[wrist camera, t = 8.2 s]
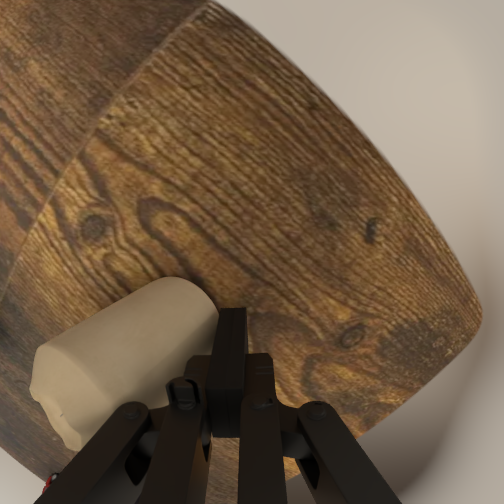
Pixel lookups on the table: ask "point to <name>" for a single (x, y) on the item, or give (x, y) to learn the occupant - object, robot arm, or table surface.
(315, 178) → the table surface
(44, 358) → the candle
